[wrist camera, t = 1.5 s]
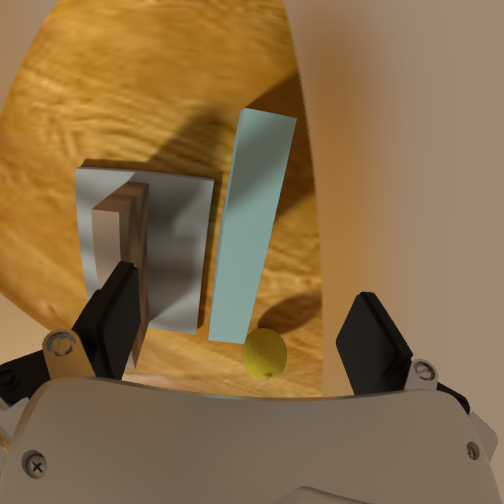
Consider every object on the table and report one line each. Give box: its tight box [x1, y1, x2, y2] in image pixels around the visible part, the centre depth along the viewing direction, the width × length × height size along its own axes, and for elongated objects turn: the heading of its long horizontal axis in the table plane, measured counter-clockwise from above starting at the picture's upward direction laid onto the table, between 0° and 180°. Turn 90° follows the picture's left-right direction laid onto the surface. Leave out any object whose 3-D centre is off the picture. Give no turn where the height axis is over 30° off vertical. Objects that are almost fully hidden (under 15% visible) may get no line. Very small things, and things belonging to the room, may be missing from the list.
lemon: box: [242, 328, 287, 380], centre depth 33 cm, size 6×6×8 cm
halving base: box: [76, 166, 215, 369], centre depth 26 cm, size 20×15×9 cm
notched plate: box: [208, 108, 297, 344], centre depth 21 cm, size 14×2×14 cm, turn 169°
